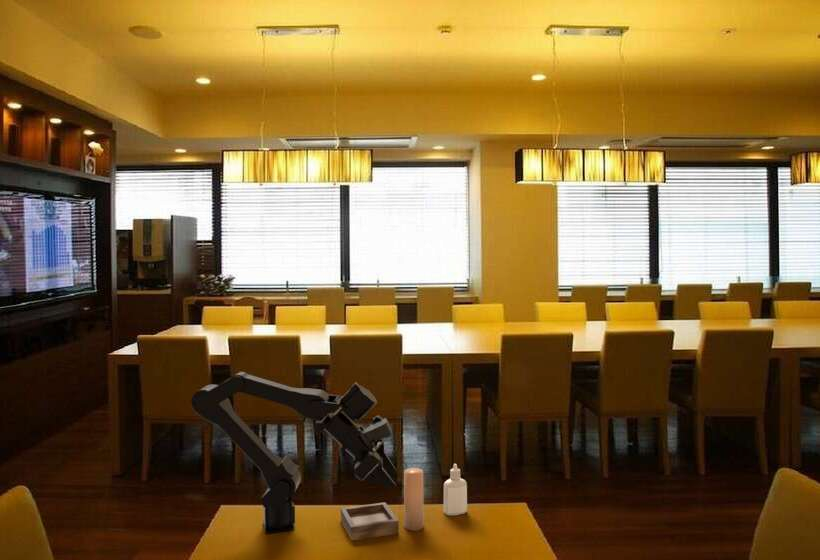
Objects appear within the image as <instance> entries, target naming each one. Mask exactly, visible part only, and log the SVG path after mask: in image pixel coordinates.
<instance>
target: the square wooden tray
mask: <svg viewBox="0 0 820 560" xmlns="http://www.w3.org/2000/svg"><path fill="white" fill-rule="evenodd" d="M393 512H394V511H392V510H391V508H390V507H389V506H388V504H387V503H386V502H384V501H383V502H377V503H371V504H370V503H369V504H364V505H363V504H362V505H355V506H347V507H340V521H341V523H342V526H343V527H344V530H345V531H346V533H347V535H348V538H349V539H350V541H358V540H365V539H371V538H378V537H379V538H380V537H384V536H391V535H398V534H399V532H400V531H399V529H400V528H399V527H400V526H399V522H400V521H399V519H398V517H397V516H396V515H395V514H394V513H393Z"/></svg>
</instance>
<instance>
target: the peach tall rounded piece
mask: <svg viewBox="0 0 820 560" xmlns="http://www.w3.org/2000/svg"><path fill="white" fill-rule="evenodd" d="M403 475H404V476H403V481H404V482H403V483H404V484H403V486H404V488H403V489H404V491H403V495H404V496H403V497H404V501H403V503H404V505H403V506H404V528H405V529H406V530H408V531H420V530H422V529H423V528H424V470H423V469H422V468H417V467H410V468H406V469H405V470H404V472H403Z"/></svg>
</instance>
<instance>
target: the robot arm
mask: <svg viewBox="0 0 820 560" xmlns="http://www.w3.org/2000/svg"><path fill="white" fill-rule="evenodd" d="M353 383H354V384H352V386H351V388H350V389H348V391H346V393H344V395H343V396H342V395H335V394H329V393H328V392H326V391H325V390H323V389H318V388H309V387H304V388H303V387H299V388H298V387H293V386H292V387H291V386H289V385H285V384H283V383H280V382H279V383H278V382H275V381H272V380H269V379H265V378H262V377H258V376H255V375H252V374H248V373H247V372H245V371H239V372H237V373H236V374H234V375H233V376H230V377H229V378H228V379H226V380H224V381H222V382H221V383H218V384H213V383H211V384H207V385H205V386H204V387H202V388H200V389H199V390H198V391H196V392H195V393H194V394H192V396H191V399H190V401H191V403H190V406H191V409H192V410H193V412H195V413H196V414H197V415H199V416H200V417H201V418H202V419H204V420H205V421H207V422H209V423H212V424H214V425H216V426H218V427H219V428H220V429H221V430H222V431H223V433H225V434H226V436H228V438H230V439H231V441H232V442H233V443H234V444H235V445H236V446H237V448H239V449H240V450H241V451H242V452H243V453H244V454H245V456H246V457H247V458H248V459H249V460H250V461H251V462H252V463H253V464H254V465H255V466H256V467H257V468H258V469H259V470H260V472H261V474H262V477H263V479H264V482H265V484H266V486H267V489H266V490H265V492H264V493H263V495H262V496H261V498H260V501H261V503H262V506H263V521H262V524H263V529H264V530H263V531H264V533H265V534H273V533H280V532H286V531H293V530H295V526H294V524H296V506H295V503H294V502H293V500H292V496H293V495H294V494H295V492H296V491H297V488H298V486H299V485H300V483H301V479H302V474H301V471H300V470H299V467H300V465H298V464H296V463H295V462H293V460H292V458H291V457H290V456H289V455H288V454H286V455H285V456H284V457H283V458H282V457H280V456H277V455H276V454H275V453H274V452H273V451H272V450H271V449H270V448H269V447H268V445H266V444H265V443H264V441H263V440H261V438H260V437H259V436H258V435H257V434H256V433H255V432H254V431H253V430H252V429H251V428H250V427H249V426H248V425H247V424H246V423H245V422H244V421H243V419H242V418H241V417H240V416H239V415H238V414H237V413H236V412H235V411H234V408H233V406H232V403H231V400H230V399H229V398H231V396H233V395H235V394H237V393H243V394H246V395H250V396H251V397H255V398H259V399H262V400H265V401H270V402H273V403H275V404H279V405H283V406H286V407H289V408H290V409H292V410H293V411H294V412H296V413H297V414H298V415H300V416H303V417H304V418H307V419H310V420H311V421H315V424H314V425H315V435H316V436H320V434H321V433H322V432H323V431H325V432H326V433H328V435H329V436H331V437H332V438H333V439H334V440H335V441H336V442H337V443H338V444H339V445H340V447H339V448H340V450H341V451H342V452H344V451H346V452H347V453H348V454H349V455H350V456H351V457H352V458H353V459H352V461H353V462H354V463H355V464H354V469H353V471H354V473H353V476H354V477H355V478H356V479H358V481H359V482H361V481H363V482H370V483H372V484H376V485H379V486H382V487H386V488H388V489H392V490H393V489H395V488H396V487H397V485H396V483H395V482H394V480H393V479H392V478H391V476H390V474H391V475H395V474H397V472H398V471H397V469H396V467H395V465H394V464H393V462H392V461H391V459H390V458H389V456H388V454H387V453H386V450H385V440H384V439H387V438H389V437H391V436H392V435H393V433H392V431H393V430H392V427H391V425H390V422H389V420H388V419H387V418H386V417H384V418H383V417H382V416H380V415H376V416H375V417H373V418H372V424H370V425H368V426H367V427H366V428H365V427H364V426H363V425H360V424H359V425H357V424H356V423H355V422H354V421H356V420H359V421H360V420H362V418H364V417H365V416H366V415H367V413H368V412H369V411H370V410H372V409H373V407H375V406H376V404H377V403H378V400H377V398H376V397H375V396H374V394H373V393H372V392H371V391H370V390H369V389H368V388H365V387H364V386H363V385H360V384H359V383H358V382H356V381H355V382H353ZM325 415H326V416H325ZM324 416H325V417H324ZM323 417H324V418H323ZM322 418H323V419H322ZM320 419H322V420H320ZM388 473H390V474H388Z"/></svg>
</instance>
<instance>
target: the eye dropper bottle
mask: <svg viewBox="0 0 820 560" xmlns="http://www.w3.org/2000/svg"><path fill="white" fill-rule="evenodd" d="M449 474H450V475H449V477H450V478H448V479H446V481H445V482H444V483H443V513H444V514H445V515H446V516H449V517H450V516H459V515H460V514H461V515H463V514H466V513H467V512H468V490H467V489H468V483H467V481H466V479H463V478H461V469H460V468H458V465H457V463H453V466H452V468H451V469H449ZM461 515H460V516H461Z"/></svg>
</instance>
